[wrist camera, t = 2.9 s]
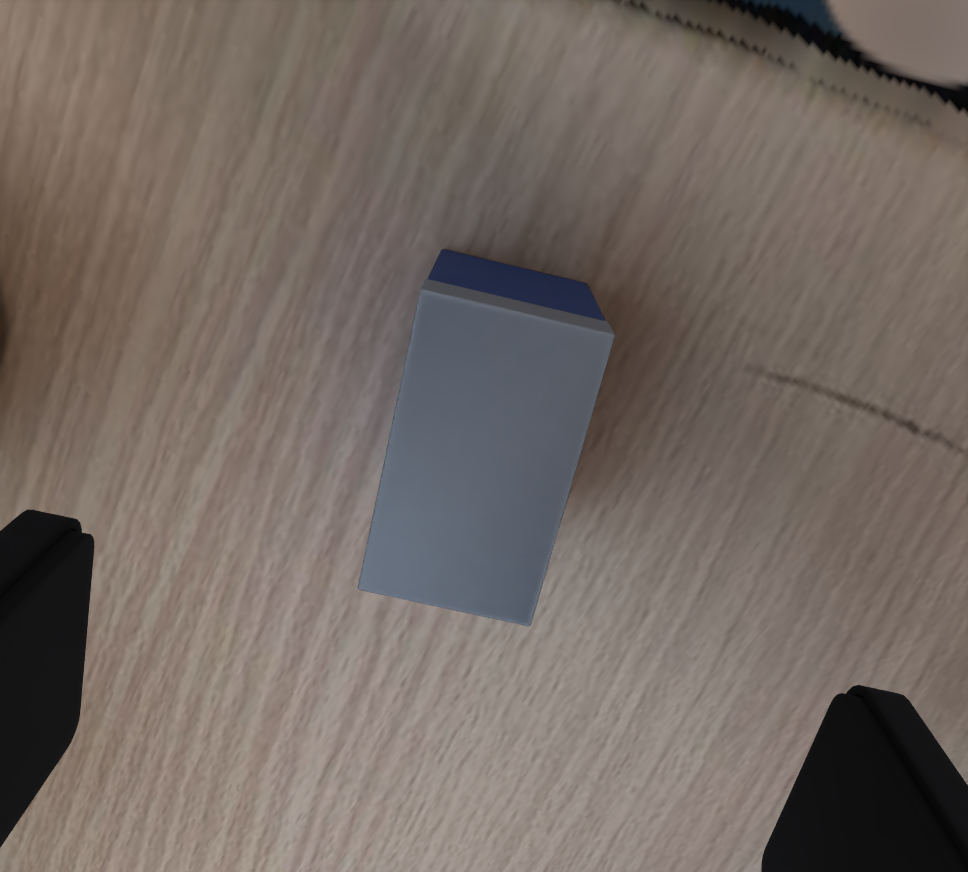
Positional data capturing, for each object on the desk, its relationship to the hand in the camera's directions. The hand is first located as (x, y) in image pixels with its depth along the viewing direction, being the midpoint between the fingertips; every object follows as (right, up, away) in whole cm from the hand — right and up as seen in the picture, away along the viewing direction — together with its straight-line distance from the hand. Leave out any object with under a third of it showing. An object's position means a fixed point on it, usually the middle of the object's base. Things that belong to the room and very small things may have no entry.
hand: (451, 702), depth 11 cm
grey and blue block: (0, +5, +14) cm, 14 cm away
